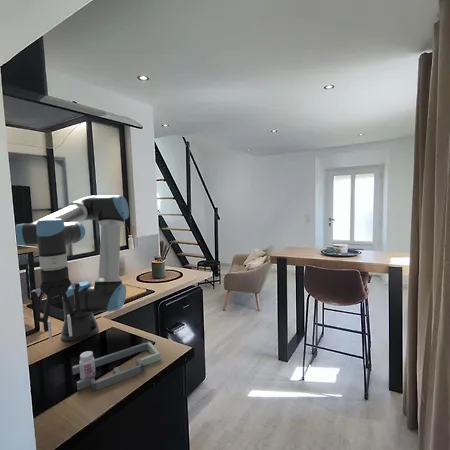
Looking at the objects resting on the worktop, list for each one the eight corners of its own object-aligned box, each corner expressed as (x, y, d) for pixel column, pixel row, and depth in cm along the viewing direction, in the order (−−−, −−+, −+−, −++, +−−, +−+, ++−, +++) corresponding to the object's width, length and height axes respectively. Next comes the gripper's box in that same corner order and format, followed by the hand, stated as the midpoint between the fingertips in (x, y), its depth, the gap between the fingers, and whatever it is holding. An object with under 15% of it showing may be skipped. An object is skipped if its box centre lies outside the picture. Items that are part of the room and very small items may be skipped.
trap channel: (72, 373, 100) (72, 366, 100) (149, 347, 116) (149, 341, 116) (79, 396, 88) (78, 389, 88) (164, 363, 104) (164, 357, 104)
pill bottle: (85, 383, 94) (83, 359, 94) (77, 378, 97) (75, 355, 96) (98, 375, 98) (96, 352, 98) (90, 371, 101) (88, 348, 100)
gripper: (19, 275, 81) (27, 351, 84) (87, 265, 92) (92, 333, 94) (19, 270, 88) (27, 341, 90) (83, 261, 98) (88, 325, 100)
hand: (60, 337), depth 92 cm, fingers open, 5 cm apart
